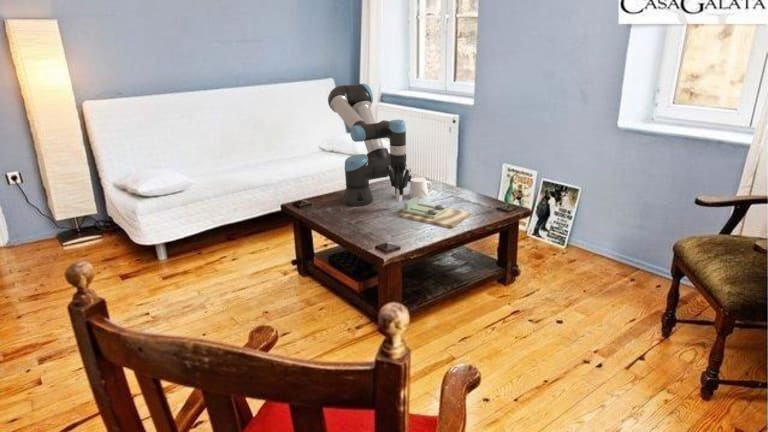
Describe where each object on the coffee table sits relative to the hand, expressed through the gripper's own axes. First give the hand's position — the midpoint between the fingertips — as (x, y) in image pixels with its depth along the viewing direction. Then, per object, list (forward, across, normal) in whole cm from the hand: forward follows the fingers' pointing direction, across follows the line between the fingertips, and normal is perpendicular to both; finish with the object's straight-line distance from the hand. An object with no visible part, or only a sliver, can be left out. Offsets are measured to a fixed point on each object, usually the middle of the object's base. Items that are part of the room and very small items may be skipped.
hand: (399, 200), depth 244 cm
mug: (+4, 0, +20) cm, 20 cm away
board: (+4, +20, 0) cm, 20 cm away
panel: (+3, +14, 0) cm, 15 cm away
